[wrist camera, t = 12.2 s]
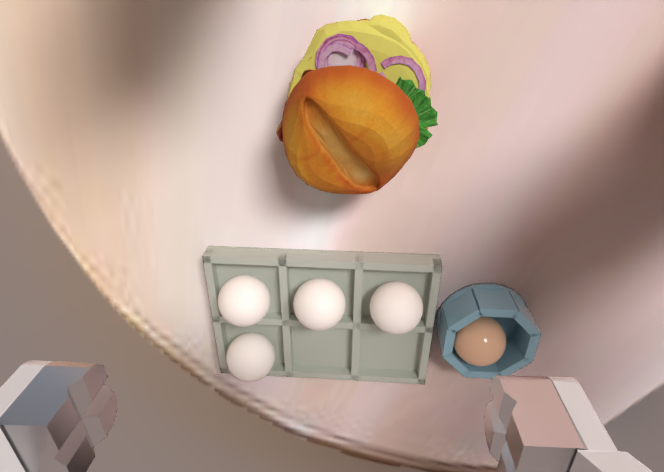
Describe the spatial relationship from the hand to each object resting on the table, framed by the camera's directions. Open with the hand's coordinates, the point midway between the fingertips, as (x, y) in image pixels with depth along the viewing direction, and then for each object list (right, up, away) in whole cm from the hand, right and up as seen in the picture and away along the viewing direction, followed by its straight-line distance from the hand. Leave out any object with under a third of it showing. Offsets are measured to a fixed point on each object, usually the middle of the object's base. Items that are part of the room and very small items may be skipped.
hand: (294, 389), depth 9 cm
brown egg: (+15, -5, +32) cm, 36 cm away
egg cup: (+15, -5, +33) cm, 36 cm away
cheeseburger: (+3, +14, +24) cm, 28 cm away
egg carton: (0, -4, +34) cm, 34 cm away
